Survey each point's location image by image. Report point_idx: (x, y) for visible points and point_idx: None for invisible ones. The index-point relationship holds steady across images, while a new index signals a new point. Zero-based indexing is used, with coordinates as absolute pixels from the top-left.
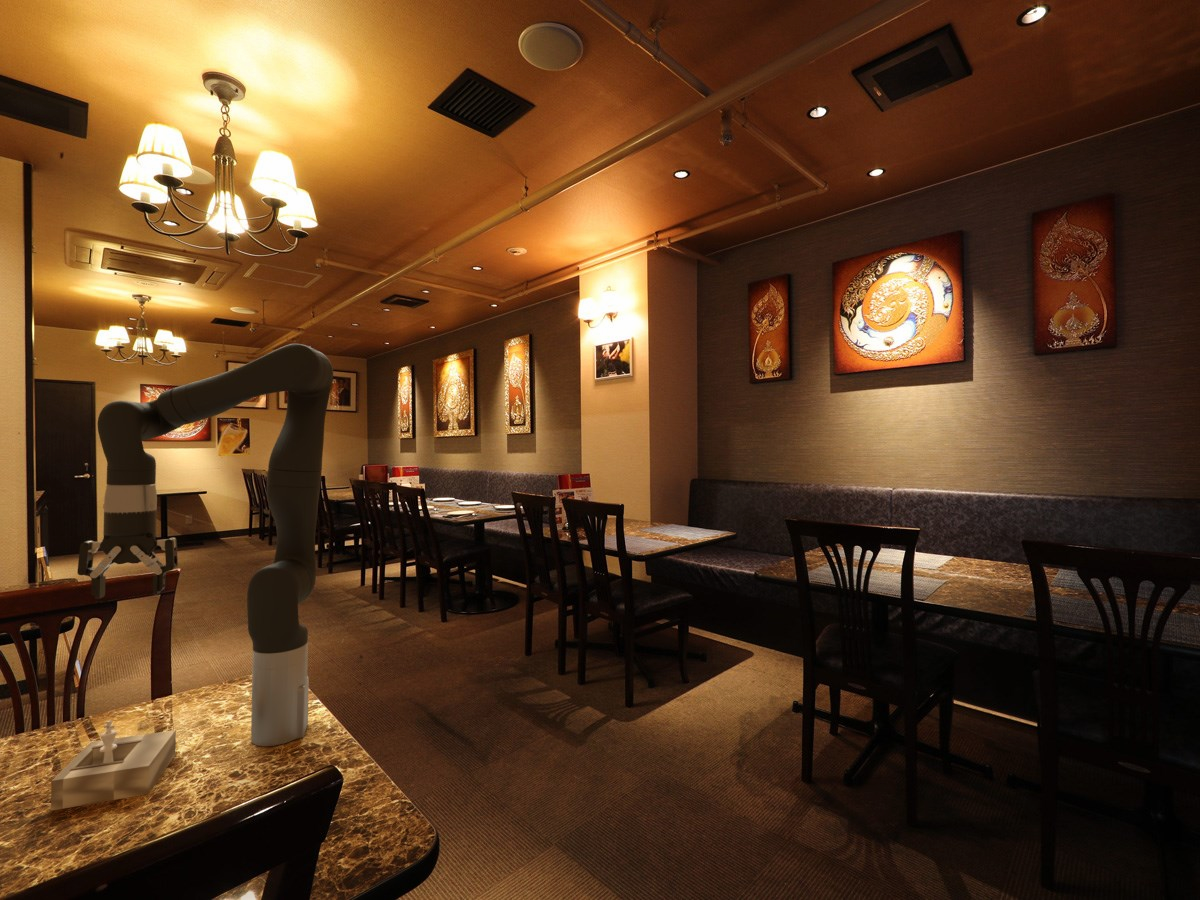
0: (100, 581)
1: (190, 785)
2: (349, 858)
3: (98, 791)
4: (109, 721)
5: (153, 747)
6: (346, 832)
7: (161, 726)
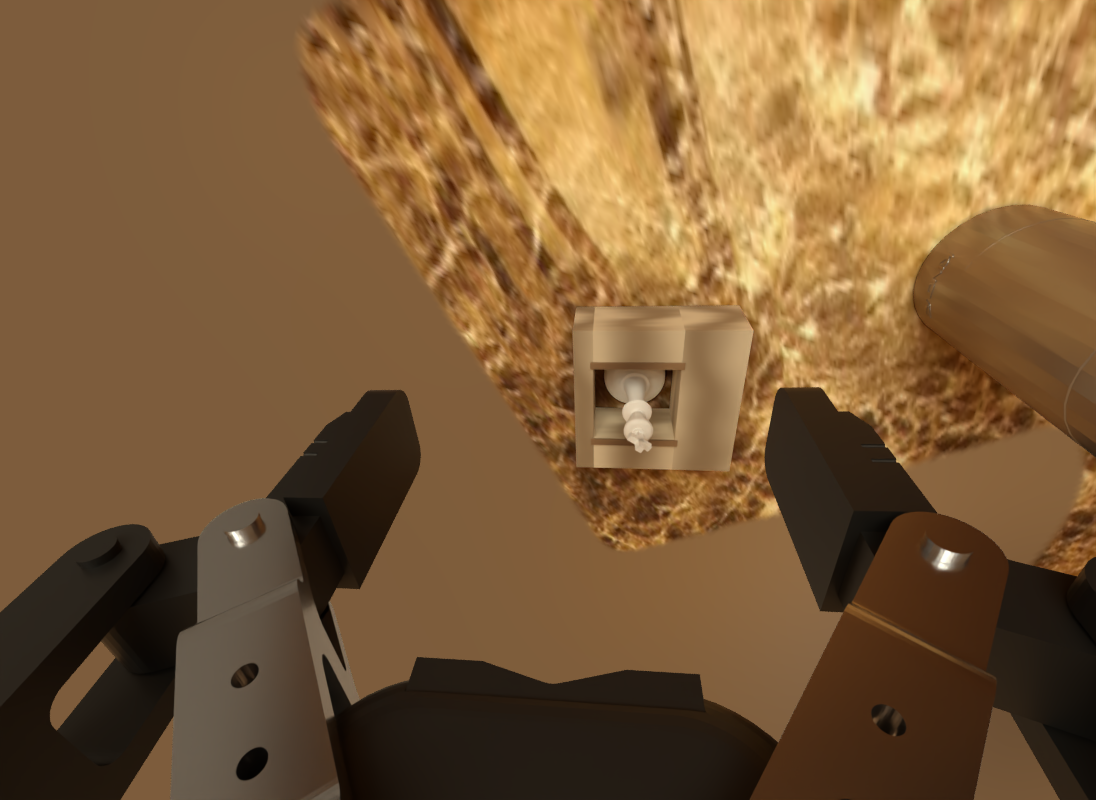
0: (369, 555)
1: None
2: None
3: None
4: (641, 451)
5: (720, 403)
6: None
7: (665, 101)
